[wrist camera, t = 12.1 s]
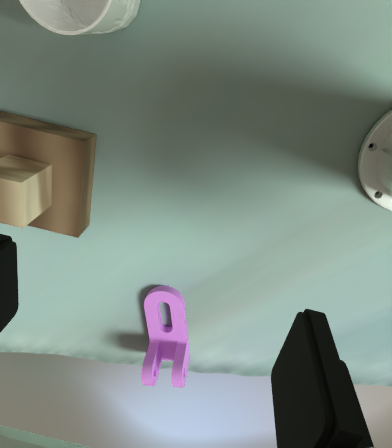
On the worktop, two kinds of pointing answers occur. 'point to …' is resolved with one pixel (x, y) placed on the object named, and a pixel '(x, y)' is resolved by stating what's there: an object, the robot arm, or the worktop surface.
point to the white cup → (82, 15)
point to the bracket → (166, 336)
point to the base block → (55, 168)
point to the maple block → (23, 190)
